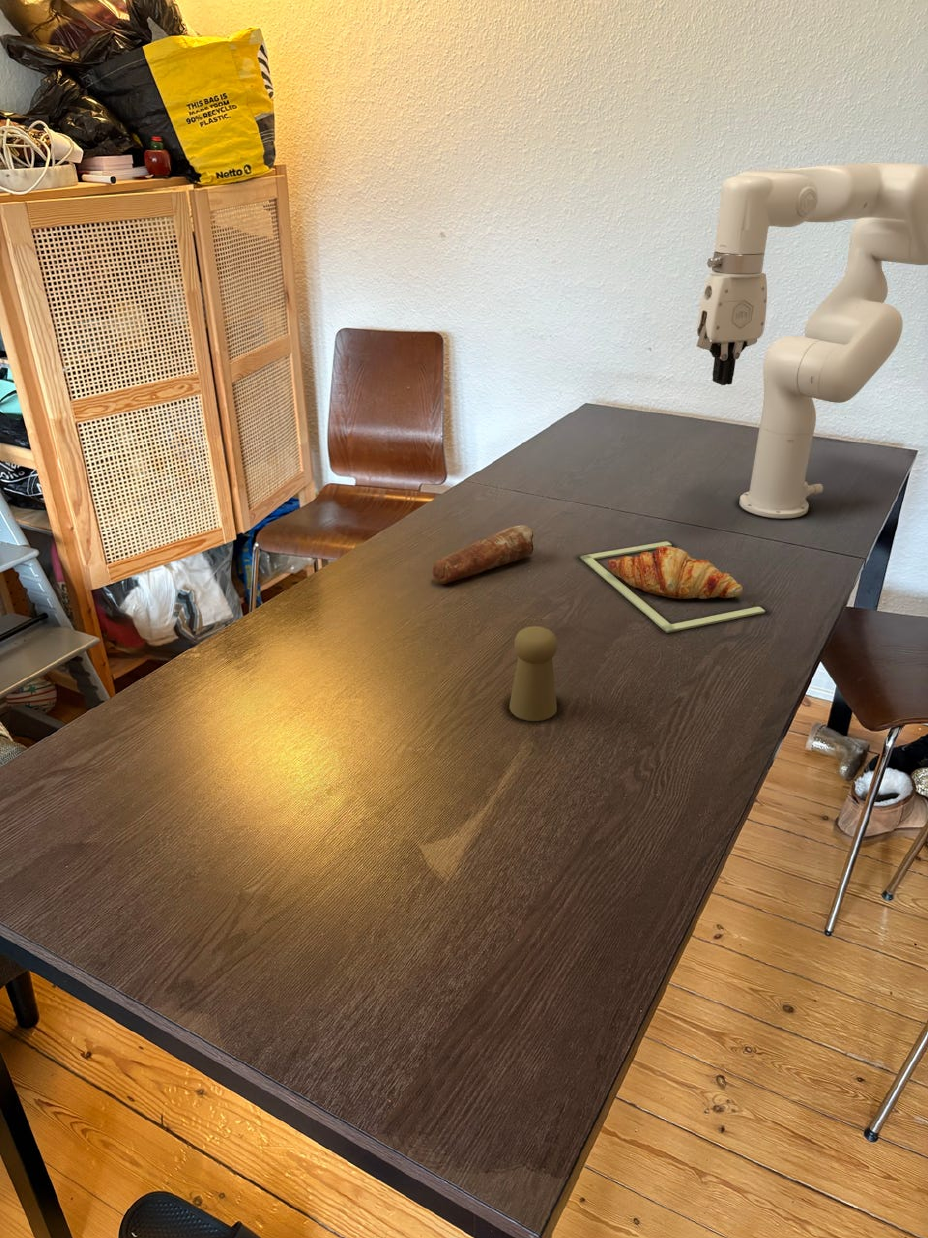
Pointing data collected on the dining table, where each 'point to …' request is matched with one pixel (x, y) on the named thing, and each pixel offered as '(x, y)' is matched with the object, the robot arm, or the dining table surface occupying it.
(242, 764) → the dining table surface
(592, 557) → the frame
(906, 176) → the robot arm
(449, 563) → the bread
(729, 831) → the dining table surface
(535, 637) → the tan game pawn
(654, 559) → the croissant
